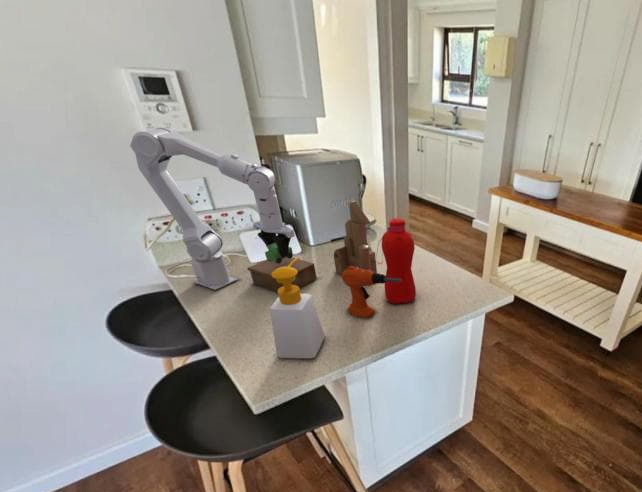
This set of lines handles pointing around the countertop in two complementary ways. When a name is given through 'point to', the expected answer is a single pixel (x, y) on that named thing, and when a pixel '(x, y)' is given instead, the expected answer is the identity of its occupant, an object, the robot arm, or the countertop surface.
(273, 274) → the soap bottle
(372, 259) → the wooden toy
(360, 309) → the toy drill
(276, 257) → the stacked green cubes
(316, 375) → the countertop surface
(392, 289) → the water bottle
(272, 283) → the wooden box
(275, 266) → the lid
